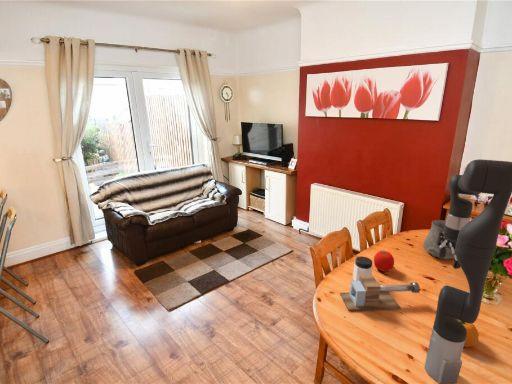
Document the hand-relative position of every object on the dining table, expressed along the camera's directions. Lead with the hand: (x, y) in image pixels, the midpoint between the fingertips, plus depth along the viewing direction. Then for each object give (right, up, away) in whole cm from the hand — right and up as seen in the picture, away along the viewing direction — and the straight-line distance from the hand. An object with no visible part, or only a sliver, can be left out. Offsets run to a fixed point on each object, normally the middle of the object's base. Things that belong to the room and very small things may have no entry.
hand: (448, 262), depth 120 cm
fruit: (+3, -30, -2) cm, 31 cm away
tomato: (-7, -15, +46) cm, 49 cm away
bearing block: (-26, -23, +20) cm, 40 cm away
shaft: (-15, -19, +19) cm, 30 cm away
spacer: (-31, -22, +19) cm, 42 cm away
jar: (-22, -18, +36) cm, 46 cm away
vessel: (+34, -10, +62) cm, 71 cm away
